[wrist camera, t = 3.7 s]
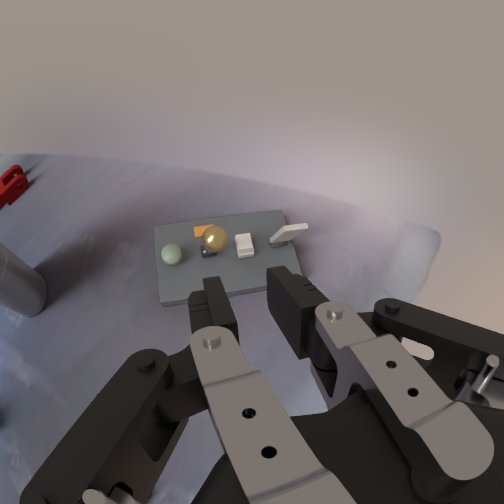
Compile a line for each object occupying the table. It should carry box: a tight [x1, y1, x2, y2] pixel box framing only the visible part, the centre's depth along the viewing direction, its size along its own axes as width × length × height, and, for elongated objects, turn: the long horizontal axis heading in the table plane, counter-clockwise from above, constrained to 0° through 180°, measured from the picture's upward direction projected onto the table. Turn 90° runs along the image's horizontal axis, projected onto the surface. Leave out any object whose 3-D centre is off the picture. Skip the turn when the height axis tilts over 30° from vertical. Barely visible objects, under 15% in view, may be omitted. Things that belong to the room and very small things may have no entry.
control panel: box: [153, 210, 303, 307], centre depth 48 cm, size 14×24×3 cm, turn 104°
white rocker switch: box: [235, 233, 254, 258], centre depth 46 cm, size 4×2×2 cm, turn 14°
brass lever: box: [200, 226, 228, 258], centre depth 37 cm, size 3×3×16 cm
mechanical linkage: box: [0, 165, 28, 208], centre depth 45 cm, size 16×7×5 cm, turn 140°
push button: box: [161, 244, 182, 266], centre depth 43 cm, size 3×3×3 cm
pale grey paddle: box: [269, 223, 308, 248], centre depth 43 cm, size 2×4×10 cm, turn 104°
